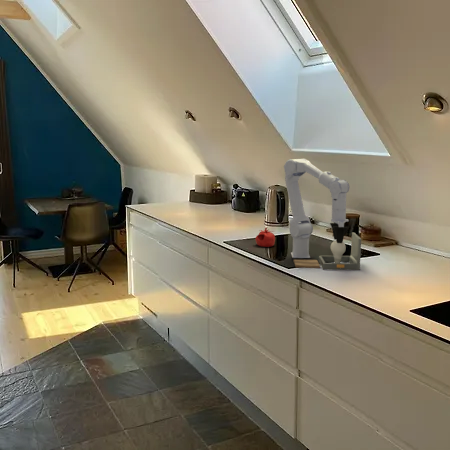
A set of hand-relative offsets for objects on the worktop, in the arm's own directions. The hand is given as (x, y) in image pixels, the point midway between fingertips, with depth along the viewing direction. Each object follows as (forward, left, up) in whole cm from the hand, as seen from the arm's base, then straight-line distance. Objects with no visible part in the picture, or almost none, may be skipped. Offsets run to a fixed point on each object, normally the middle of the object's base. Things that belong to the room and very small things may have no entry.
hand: (338, 241), depth 229 cm
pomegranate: (-38, -29, -11) cm, 49 cm away
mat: (-1, -13, -11) cm, 17 cm away
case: (0, 0, -11) cm, 11 cm away
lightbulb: (0, 0, -11) cm, 11 cm away
